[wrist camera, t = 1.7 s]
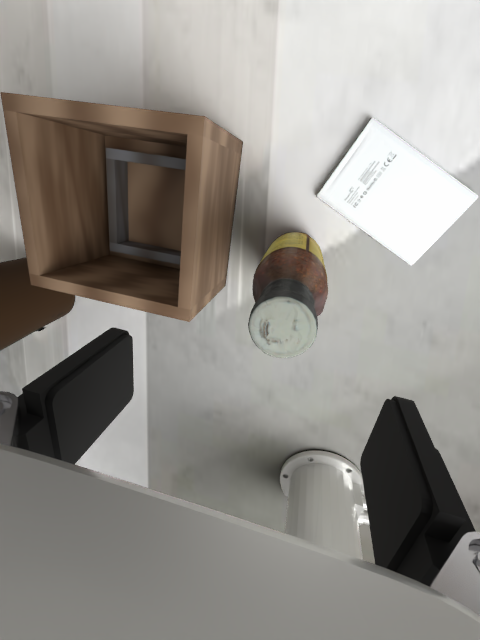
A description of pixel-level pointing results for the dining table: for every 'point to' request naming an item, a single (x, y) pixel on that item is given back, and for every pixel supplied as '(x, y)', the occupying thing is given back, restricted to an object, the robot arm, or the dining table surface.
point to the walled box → (123, 201)
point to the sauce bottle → (288, 296)
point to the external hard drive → (395, 193)
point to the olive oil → (26, 303)
